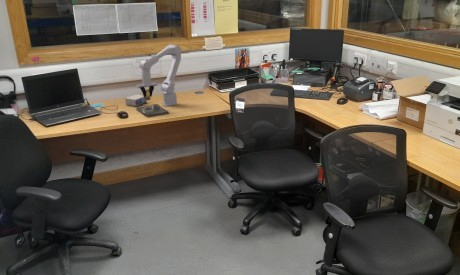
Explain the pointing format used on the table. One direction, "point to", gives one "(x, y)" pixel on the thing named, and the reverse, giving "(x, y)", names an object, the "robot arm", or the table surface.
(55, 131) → the table surface
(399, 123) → the table surface
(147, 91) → the brass cylinder
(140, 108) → the fitting board
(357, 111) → the table surface
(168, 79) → the robot arm
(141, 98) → the ink cartridge box
